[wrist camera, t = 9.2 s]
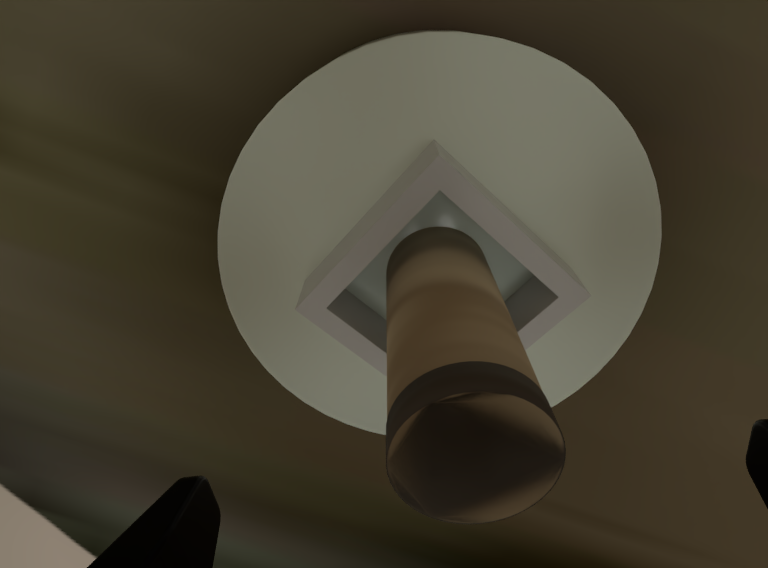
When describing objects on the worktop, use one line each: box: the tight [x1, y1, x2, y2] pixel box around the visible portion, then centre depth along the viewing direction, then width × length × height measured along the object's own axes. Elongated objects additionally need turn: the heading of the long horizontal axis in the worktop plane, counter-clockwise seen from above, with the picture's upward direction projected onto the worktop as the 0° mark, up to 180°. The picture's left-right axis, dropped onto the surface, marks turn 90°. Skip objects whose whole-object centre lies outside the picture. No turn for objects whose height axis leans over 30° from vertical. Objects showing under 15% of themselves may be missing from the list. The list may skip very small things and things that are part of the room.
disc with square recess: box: [218, 30, 662, 435], centre depth 17 cm, size 13×13×6 cm
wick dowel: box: [386, 227, 566, 524], centre depth 12 cm, size 3×3×8 cm
